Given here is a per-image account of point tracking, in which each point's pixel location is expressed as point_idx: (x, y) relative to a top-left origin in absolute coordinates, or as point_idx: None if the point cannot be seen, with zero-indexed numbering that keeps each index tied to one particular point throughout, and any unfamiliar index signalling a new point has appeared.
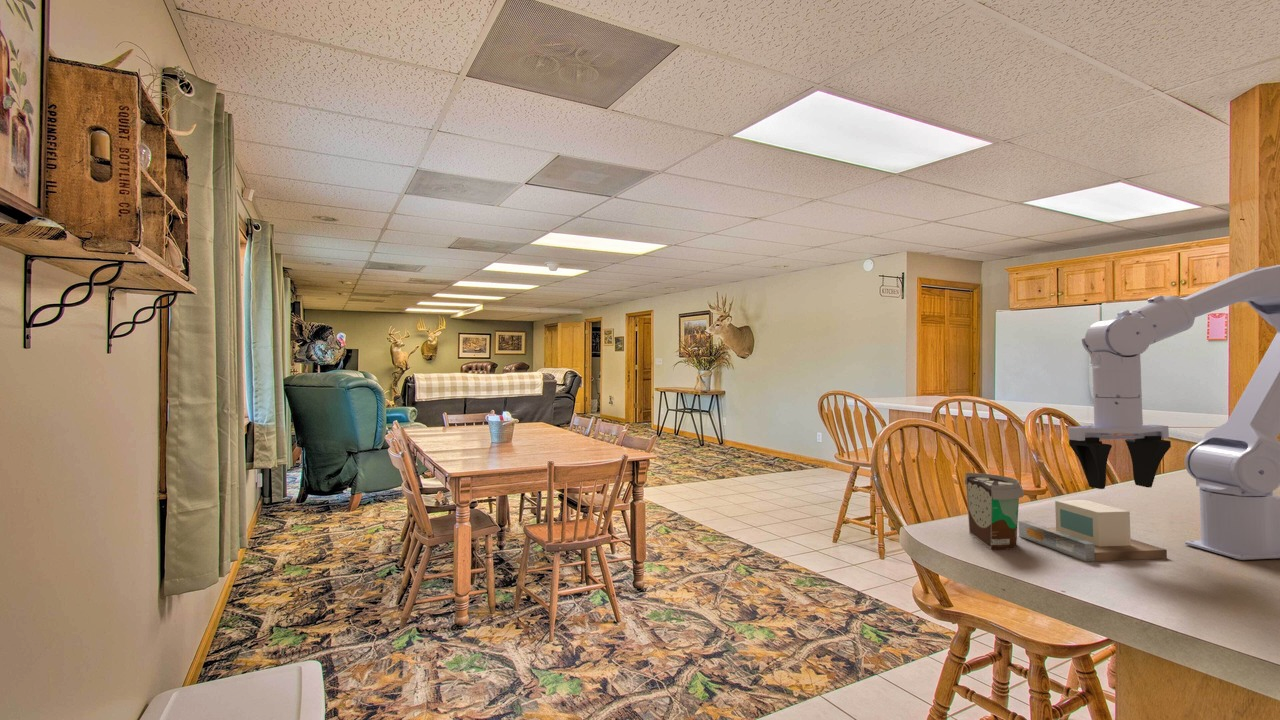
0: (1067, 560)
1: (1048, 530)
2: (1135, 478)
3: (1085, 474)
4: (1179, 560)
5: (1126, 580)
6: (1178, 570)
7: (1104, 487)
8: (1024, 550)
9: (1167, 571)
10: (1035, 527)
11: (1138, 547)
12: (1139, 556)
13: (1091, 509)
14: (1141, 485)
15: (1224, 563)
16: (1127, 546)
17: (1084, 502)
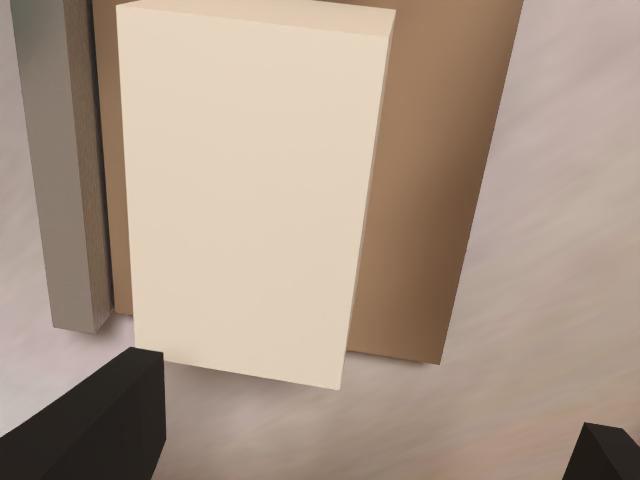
0: (36, 257)
1: (36, 112)
2: (601, 471)
3: (54, 402)
4: (457, 369)
5: None
6: (329, 428)
7: (159, 450)
8: None
9: (282, 423)
10: (15, 23)
11: (357, 312)
12: None
13: (160, 295)
14: (567, 471)
15: (580, 432)
16: None
17: (291, 127)
